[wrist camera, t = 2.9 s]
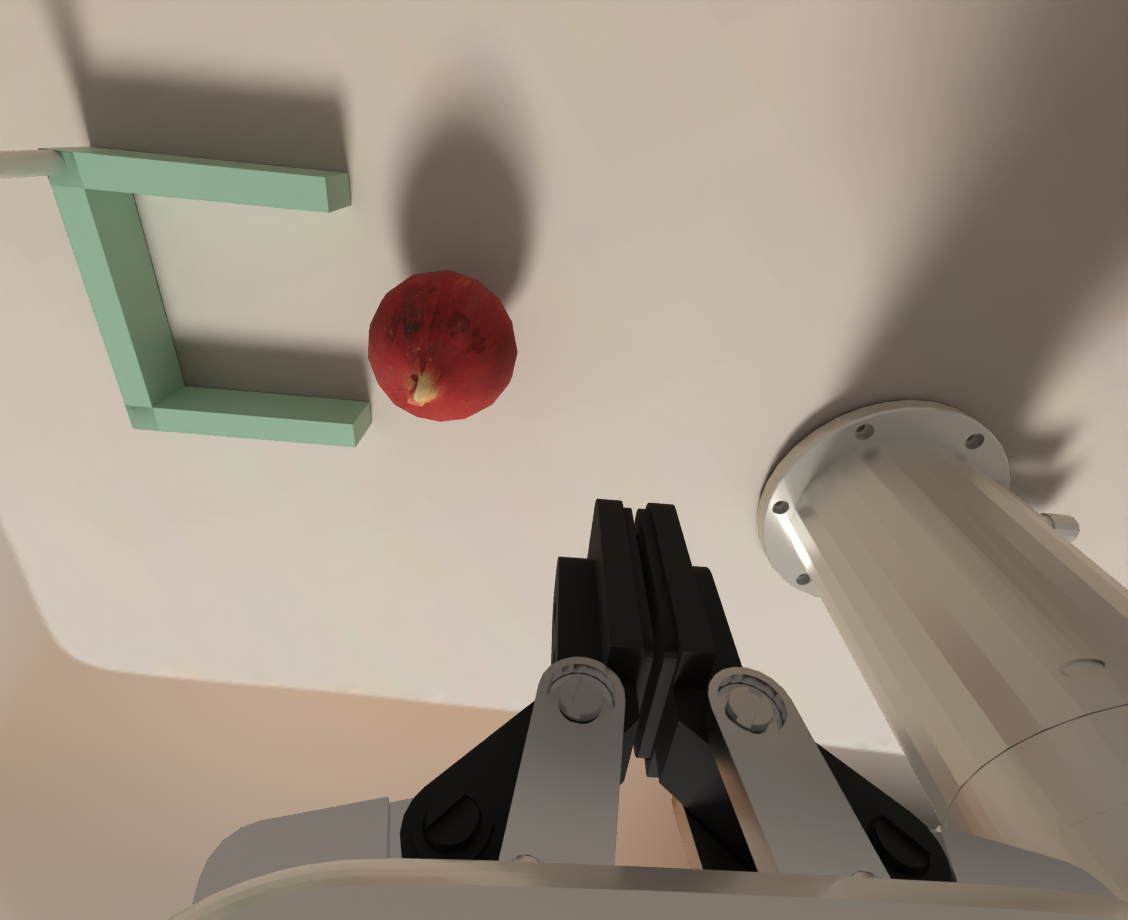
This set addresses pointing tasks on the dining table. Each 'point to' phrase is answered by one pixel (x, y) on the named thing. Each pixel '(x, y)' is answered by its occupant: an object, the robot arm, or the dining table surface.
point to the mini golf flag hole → (132, 299)
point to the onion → (442, 346)
